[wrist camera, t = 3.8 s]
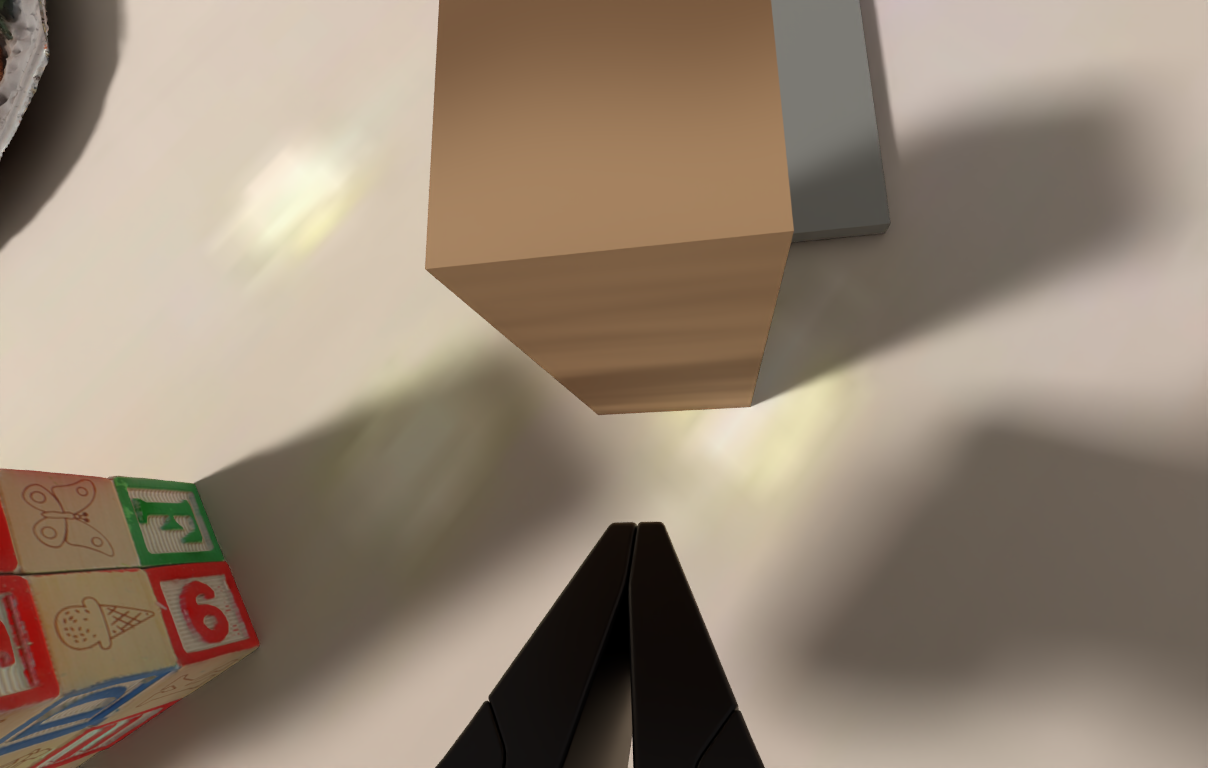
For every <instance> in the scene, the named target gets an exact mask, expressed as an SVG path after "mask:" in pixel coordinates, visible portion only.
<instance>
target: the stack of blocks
mask: <svg viewBox="0 0 1208 768" xmlns="http://www.w3.org/2000/svg"><path fill="white" fill-rule="evenodd" d="M258 647H259V641H258V638H257V636H256V633H255V631H254V628H253V626H252V623H251V621H250V618H249V616H248V613H247V611H246V608H245V606H244V603H243V601H242V598H241V596H240V593H239V591H238V589H237V586H236V584H235V581H234V578H233V576H232V574H231V571H230V569H229V566H228V564H227V563H226V561H225V560H224V557H223V555H222V553H221V550H220V547H219V545H218V542H217V540H216V537H215V535H214V532H213V530H212V527H211V524H210V522H209V519H208V517H207V514H206V512H205V509H204V507H203V504H202V502H201V499H200V497H199V494H198V491H197V488H196V486H195V484H193V483H184V482H175V481H164V480H157V479H147V478H133V477H123V476H113V477H108V478H107V479H106V478H102V477H94V476H84V475H73V474H62V473H50V472H41V471H29V470H13V469H0V768H76V767H78V766H79V765H81V764H82V763H84V762H85V761H87V760H88V759H89V758H91V757H92V756H94V755H95V754H97V753H98V752H99V751H101V750H105V749H107V748H109V747H111V746H112V745H114V744H115V743H117V742H118V741H120V740H121V739H123V738H125V737H126V736H128V735H129V734H130V733H132V732H133V731H135V730H136V729H138V728H139V727H141V726H142V725H143V724H145V723H147V722H148V721H149V720H151V719H153V718H154V717H156V716H157V715H159V714H160V713H161V712H163V711H164V710H166V709H167V708H169V707H170V706H172V705H173V704H175V703H176V702H178V701H179V700H181V699H182V698H183V697H185V696H187V695H189V694H191V693H192V692H194V691H195V690H197V689H198V688H200V687H201V686H203V685H204V684H206V683H207V682H209V681H210V680H212V679H213V678H215V677H216V676H218V675H219V674H221V673H222V672H224V671H225V670H227V669H228V668H230V667H231V666H233V665H234V664H235V663H237V662H238V661H240V660H241V659H243V658H244V657H246V656H247V655H249V654H250V653H252V652H253V651H255V650H256V649H257V648H258Z"/></svg>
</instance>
